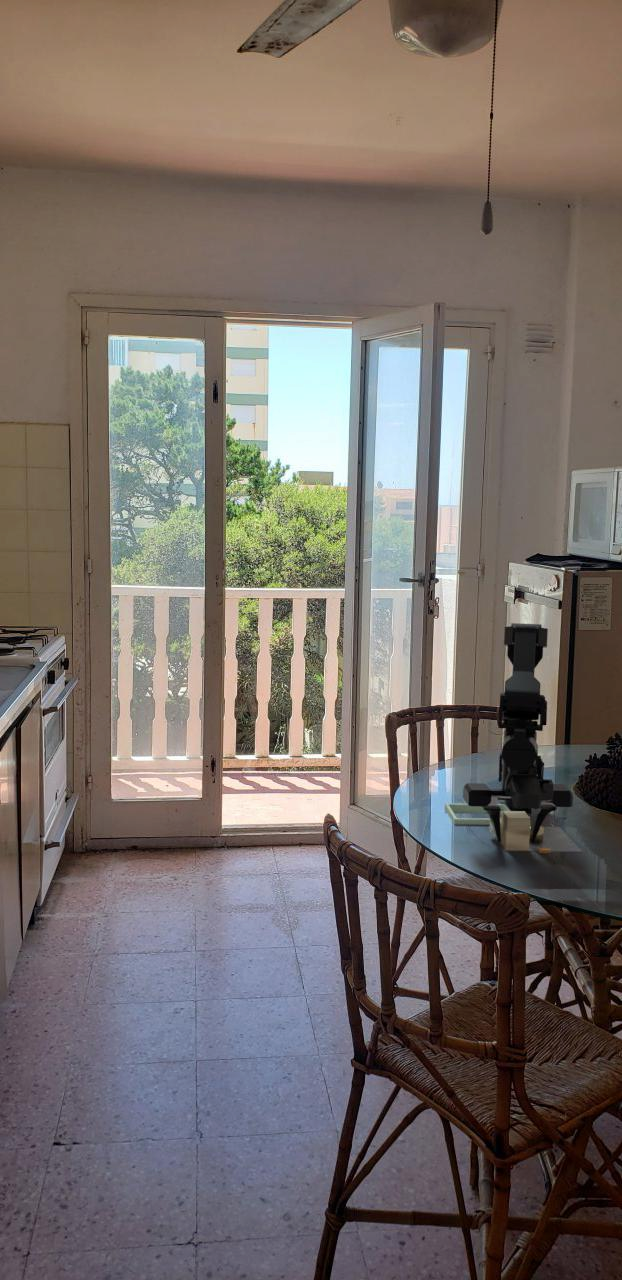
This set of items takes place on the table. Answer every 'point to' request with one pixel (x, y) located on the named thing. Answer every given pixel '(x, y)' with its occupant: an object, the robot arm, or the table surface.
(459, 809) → the tray
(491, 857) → the table surface
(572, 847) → the crank base
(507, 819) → the block
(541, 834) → the crank
